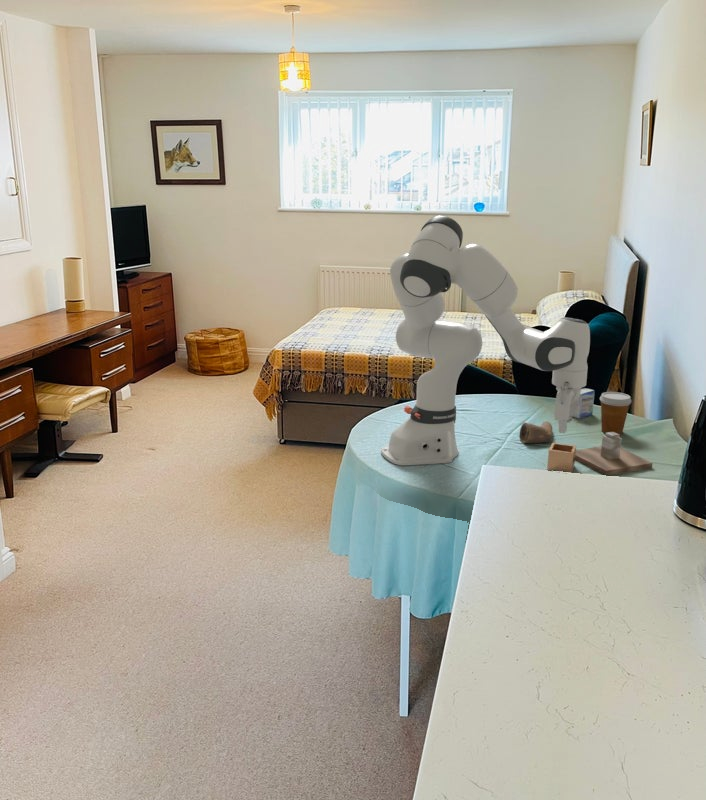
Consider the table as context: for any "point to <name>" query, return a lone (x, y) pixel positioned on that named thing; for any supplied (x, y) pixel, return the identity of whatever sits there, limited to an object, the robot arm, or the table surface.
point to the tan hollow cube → (561, 457)
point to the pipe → (536, 433)
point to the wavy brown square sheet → (611, 457)
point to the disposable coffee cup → (614, 411)
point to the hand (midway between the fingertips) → (565, 426)
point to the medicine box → (584, 404)
